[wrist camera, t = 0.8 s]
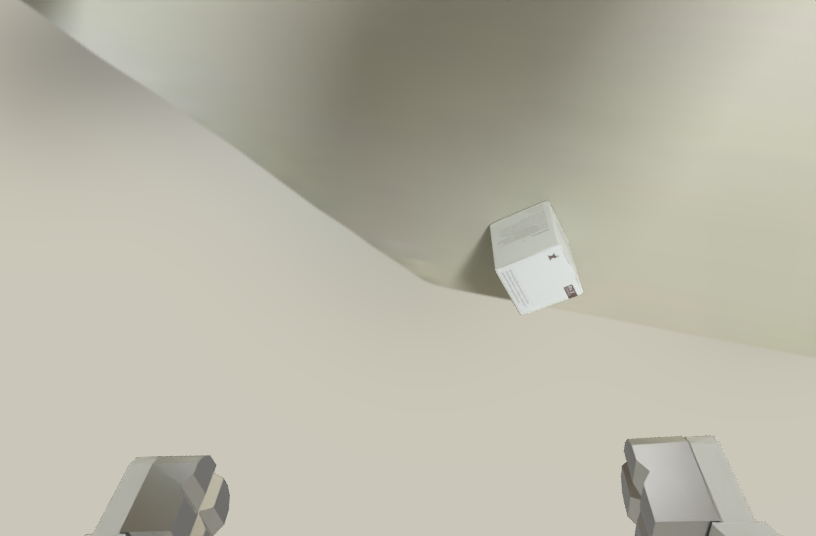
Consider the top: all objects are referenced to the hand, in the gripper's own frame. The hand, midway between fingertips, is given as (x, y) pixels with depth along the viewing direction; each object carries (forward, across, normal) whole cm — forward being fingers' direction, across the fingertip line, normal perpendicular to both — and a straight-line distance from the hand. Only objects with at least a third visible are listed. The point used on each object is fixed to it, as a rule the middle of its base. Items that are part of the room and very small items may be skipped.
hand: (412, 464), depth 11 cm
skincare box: (+40, -6, +22) cm, 46 cm away
